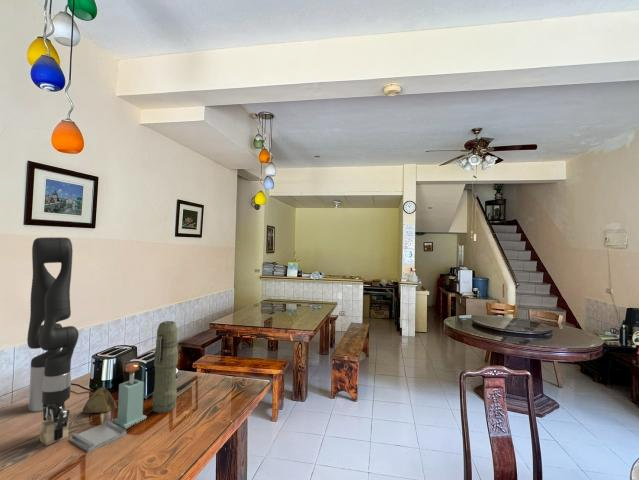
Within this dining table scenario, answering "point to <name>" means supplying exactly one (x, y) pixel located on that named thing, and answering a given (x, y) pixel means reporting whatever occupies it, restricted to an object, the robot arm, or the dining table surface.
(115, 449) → the dining table surface
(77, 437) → the grey square tray
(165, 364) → the thermos
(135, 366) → the plunger
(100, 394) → the rock
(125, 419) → the column
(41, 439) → the block
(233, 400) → the dining table surface
